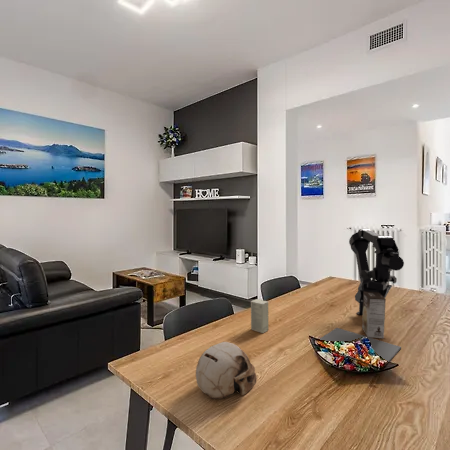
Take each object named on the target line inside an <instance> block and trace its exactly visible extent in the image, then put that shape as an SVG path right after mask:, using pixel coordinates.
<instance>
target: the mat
mask: <svg viewBox="0 0 450 450" xmlns="http://www.w3.org/2000/svg"><path fill="white" fill-rule="evenodd" d="M361 337H367V335H364V334H361V333H356V332H353V331H350V330H346V329H343V328H339V327H335V328H334V329H332V330H331V331H329V332H327V333H326V334H324V335H323V336H322V337H320V338H319V339H320V340H325V341H334V342H335V341H352V340H355V339H358V338H361ZM367 338H368V339H369V340H370V342H371V345H372V348H373V349H374V350H375V352H376V353H377V354H378V355H379V356H381V357H382V358H383V359H385V360H387V361H388V362H389V363H390V362H391V361H392V360H393V359H394V357H395V356H396V355H397V353H399V352H400V350H401V349H402V346H399V345H396V344H393V343H389V342H386V341H383V340H379V339H378V338H377V339H376V338H373V337H367Z"/></svg>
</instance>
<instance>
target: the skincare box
mask: <svg viewBox="0 0 450 450" xmlns="http://www.w3.org/2000/svg"><path fill="white" fill-rule="evenodd" d="M250 328H251V329H250V330H252V331H255V332H258V333H261V334H264V333H266V332H268V331H269V301H267V300H264V299H259V298H256V299H253V300H251V301H250Z"/></svg>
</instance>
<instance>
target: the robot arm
mask: <svg viewBox="0 0 450 450" xmlns="http://www.w3.org/2000/svg"><path fill="white" fill-rule="evenodd" d="M394 238H395V237H393V236H392V235H391V236H390V235H381V234H379V233H377V232H375V231H373V230H371V229H370V228H361V229H359V230H358V231H357V232H355V233H354V234H352V235H351V236H350V237H349V239H348V240H349V241H348V244H349V246H350V249H351V250H352V252H353V253H354V254H355V258H356V263H357V269H358V274H359V280H360V283H359V285H358V287H357V292H356V293H355V295H354V300H355V301H356V303H358V305H359V307H358V311H357V312H356V313H355V314H356V315H358V316H362V317H363V293H364V292H379V293H380V294H381V295H382V296H383V297H384V298H385V299H386V297H387V296H388V294H389V293H390V290H391V288H392V287H393V285H391V284H390V283H392V284H396V283H397V277H396V276H395V275H391V273H392V271H400V270H402V269H403V267H404V265H405V262H404V260H403V258H402V257H400V253H399V248H398V245H397V242H396V240H395V239H394ZM370 243H371V244H372V247H373V248H374V249H375V251H374V254H375V266H374V267H373V268H372V270H370V266H369V260H368V256H367V251H368V249H369V244H370ZM389 282H390V283H389Z"/></svg>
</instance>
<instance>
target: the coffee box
mask: <svg viewBox="0 0 450 450" xmlns="http://www.w3.org/2000/svg"><path fill="white" fill-rule="evenodd" d="M386 300H387V298H386V297H385V298H384V297H383V296H382V295H381V294H380V293H379V292H364V293H363V316H362V320H361V321H362V322H361V324H362V327H361V328H362V330H363V332H364V334H365V336H367V337H370V338H373V339H376V338H377V339H385V320H386V317H385V316H386Z"/></svg>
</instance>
